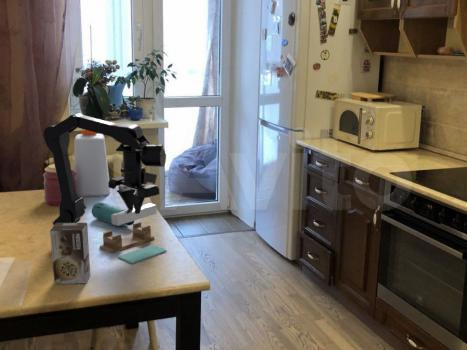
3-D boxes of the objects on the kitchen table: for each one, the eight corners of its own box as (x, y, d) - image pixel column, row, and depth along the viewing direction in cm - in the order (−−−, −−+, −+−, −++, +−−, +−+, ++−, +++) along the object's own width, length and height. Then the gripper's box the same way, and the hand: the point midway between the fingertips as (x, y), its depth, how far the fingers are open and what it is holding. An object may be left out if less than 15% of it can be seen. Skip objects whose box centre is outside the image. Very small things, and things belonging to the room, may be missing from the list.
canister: (45, 198, 236) (42, 157, 232) (77, 196, 240) (74, 155, 235) (44, 207, 224) (41, 164, 220) (78, 205, 228) (76, 162, 223)
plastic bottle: (109, 196, 240) (107, 131, 233) (73, 198, 237) (69, 132, 230) (110, 187, 255) (107, 125, 248) (75, 188, 252) (72, 126, 245)
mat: (132, 264, 172) (132, 262, 171) (118, 257, 176) (118, 256, 176) (166, 251, 182) (166, 250, 182) (152, 245, 186) (152, 244, 186)
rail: (117, 225, 174) (117, 216, 174) (111, 223, 176) (111, 214, 176) (156, 213, 186) (156, 205, 185) (150, 211, 188) (150, 203, 187)
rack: (110, 253, 179) (110, 238, 178) (99, 248, 183) (99, 233, 182) (154, 239, 192) (154, 224, 191) (143, 234, 196) (142, 220, 195)
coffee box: (91, 274, 164) (88, 222, 160) (86, 284, 158) (83, 229, 154) (59, 274, 163) (55, 221, 159) (53, 284, 157) (49, 229, 153)
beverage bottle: (96, 220, 214) (132, 232, 202) (85, 212, 209) (121, 224, 197) (104, 205, 216) (140, 216, 204) (93, 197, 211) (130, 208, 199)
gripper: (171, 165, 177) (172, 212, 181) (133, 156, 189) (135, 201, 193) (144, 171, 169) (146, 221, 173) (106, 162, 181) (108, 208, 184)
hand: (134, 212), depth 181 cm, fingers closed on rail, 3 cm apart
